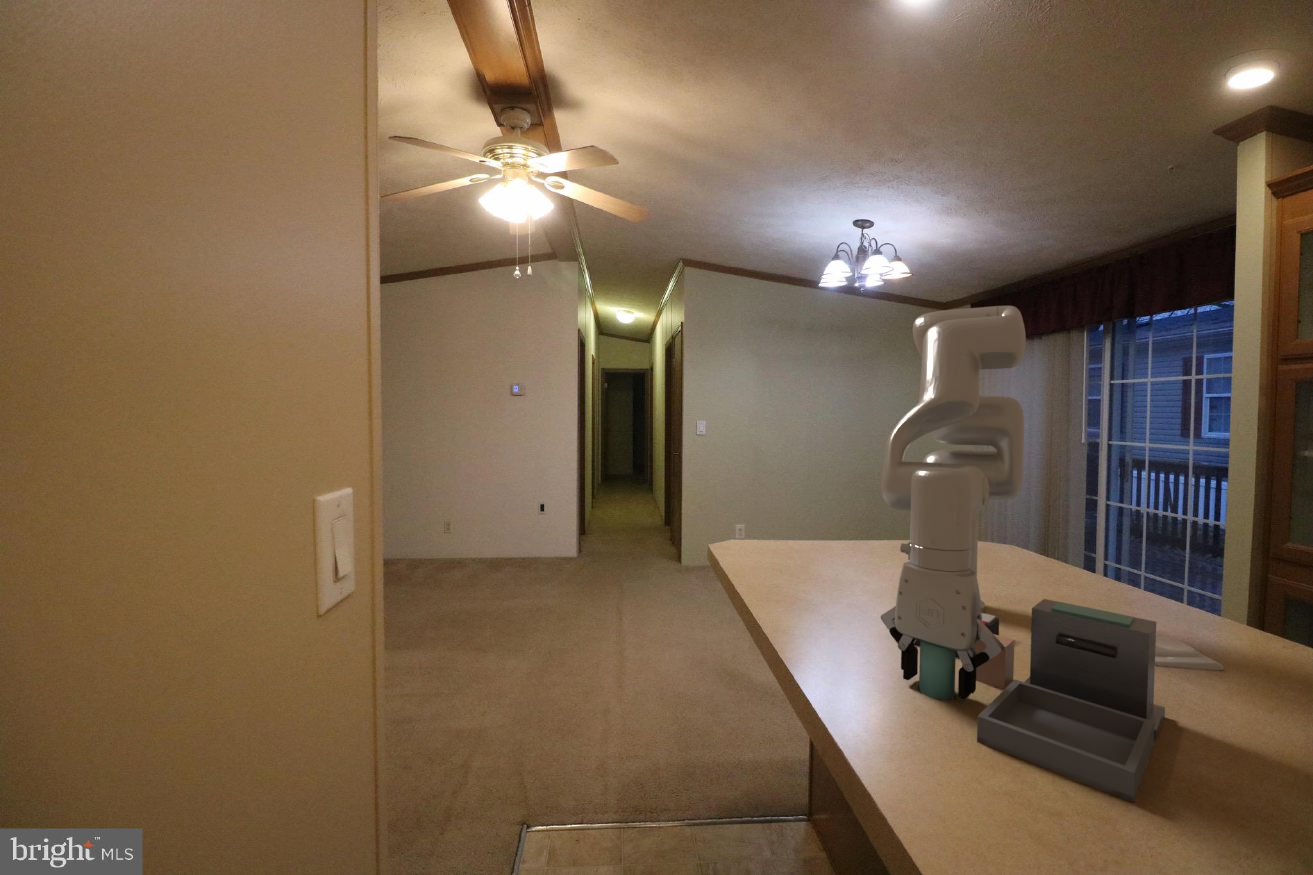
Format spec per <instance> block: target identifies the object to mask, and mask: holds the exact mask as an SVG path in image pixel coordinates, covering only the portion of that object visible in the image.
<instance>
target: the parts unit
mask: <svg viewBox="0 0 1313 875" xmlns="http://www.w3.org/2000/svg"><path fill="white" fill-rule="evenodd" d="M1030 628H1031V629H1030V662H1029V663H1030V664H1029V667H1030V668H1029V676H1028V678H1027V679H1025V681H1024V682H1025V683H1029V684H1032V685H1035V686H1038V687H1042V688H1045V689H1048V690H1052V691H1055V692H1058V693H1061V694H1065V695H1068V696H1071V697H1075V698H1078V699H1081V700H1084V701H1088V702H1091V703H1094V704H1098V705H1101V706H1104V707H1107V708H1111V709H1114V710H1117V711H1121V712H1124V713H1127V714H1130V715H1134V716H1137V717H1140V718H1144V719H1147V720H1150V721H1153V722H1154V742H1155V741H1157V739H1158V737H1159V733H1160V730H1161V729H1162V725H1163V722H1164V720H1165V715H1166V714H1165V713H1166V706H1165V707H1164V706H1162V705H1161V706H1160V705H1158V704H1155V703H1154V701H1155V700H1154V698H1155V697H1154V696H1155V676H1156V675H1155V674H1156V673H1155V670H1156V666H1155V647H1156V636H1157V621H1155V620H1150V619H1145V618H1140V617H1135V616H1131V615H1126V614H1123V613H1122V614H1121V613H1117V612H1113V611H1106V610H1102V609H1097V608H1092V607H1089V606H1088V607H1087V606H1082V605H1077V604H1074V603H1073V604H1072V603H1067V602H1062V601H1056V600H1051V599H1047V598H1043V599H1042V600H1040V601H1039V602H1037V603H1036V604H1035V605H1034V606H1032V608H1031V627H1030Z"/></svg>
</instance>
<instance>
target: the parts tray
mask: <svg viewBox="0 0 1313 875" xmlns="http://www.w3.org/2000/svg"><path fill="white" fill-rule="evenodd" d="M1002 690H1003V691H1001V692H1000V693H999V695H998V696H996V697H995V698H994V699H993V700H992V701H991V702H989V704H988V705H987V706H986V707H985V708H984V709H983V710H982V711H981V712H980V713H979V714H978V715H977V724H976V725H977V730H976V733H977V734H976V742H977V743H981V744H983V745H986V746H988V747H991V748H992V749H995V750H998V751H1000V752H1004V753H1006V754H1009V755H1010V756H1013V757H1016V758H1018V759H1021V760H1023V761H1025V762H1028V763H1030V764H1034V765H1036V766H1038V767H1041V768H1044V769H1047V770H1049V771H1052V772H1054V773H1056V774H1059V775H1062V776H1064V777H1065V778H1066V777H1067V778H1070V779H1072V780H1074V781H1077V782H1079V783H1081V784H1085V785H1086V786H1087V785H1088V786H1089V787H1092V788H1095V789H1096V790H1099V791H1103V792H1104V793H1107V794H1110V795H1113V796H1114V797H1118V798H1120V799H1123V800H1125V801H1128V802H1129V803H1133V804H1134V802H1135V799H1136V797H1137V794H1138V791H1139V788H1140V785H1141V783H1142V780H1143V777H1144V774H1145V772H1146V769H1147V766H1148V763H1149V760H1150V757H1151V756H1152V753H1153V751H1154V744H1155V740H1154V722H1153V721H1150V720H1147V719H1144V718H1140V717H1137V716H1134V715H1130V714H1127V713H1124V712H1121V711H1117V710H1114V709H1111V708H1107V707H1104V706H1101V705H1098V704H1094V703H1091V702H1088V701H1084V700H1081V699H1078V698H1075V697H1071V696H1068V695H1065V694H1061V693H1058V692H1055V691H1052V690H1048V689H1045V688H1042V687H1038V686H1035V685H1032V684H1029V683H1025V681H1021V680H1018V679H1013V681H1012V682H1011V683H1010V684H1009V685H1008V686H1007V687H1006V688H1005V689H1002Z"/></svg>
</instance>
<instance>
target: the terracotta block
mask: <svg viewBox="0 0 1313 875" xmlns="http://www.w3.org/2000/svg"><path fill="white" fill-rule="evenodd" d="M994 636H995V637H996V638H997V639H998V640H999V641H1000V642H1001V643H1002V644H1003V645H1004V650H1003V651H1002V652H1001V653H999V654H998V655H996V656H995V657H993V658H992V659H990V660H989V661H987V662H986V663H984V664H982V665H981V666H979V667H977V668H976V682H977V681H978V682H980V683H984V684H987V685H990V686H993V687H997V688H999V689H1000V688H1001V689H1002V690H1004V689H1005V688H1006V687H1007V686H1008V685H1009V684H1010V683H1012V682H1013V681H1014V675H1015V674H1014V672H1015V671H1014V667H1015V639H1014V638H1009V637H1005V636H1003V635H1000V634H999V635H995V634H994ZM974 648H975V650H976V652H977V654H978V653H980V652H981V651H983V650H985V649H986V644H985V643H984V642H983V641H982V640H981V641H980V642H979V643H974Z"/></svg>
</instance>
